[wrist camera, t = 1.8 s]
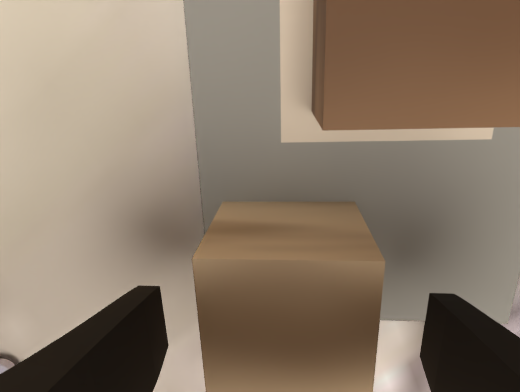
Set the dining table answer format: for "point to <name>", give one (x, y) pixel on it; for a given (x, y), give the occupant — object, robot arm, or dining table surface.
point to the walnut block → (416, 64)
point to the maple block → (288, 298)
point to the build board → (351, 161)
